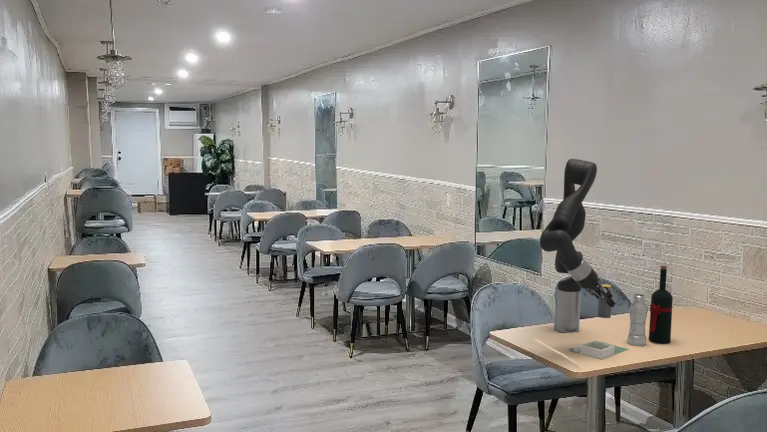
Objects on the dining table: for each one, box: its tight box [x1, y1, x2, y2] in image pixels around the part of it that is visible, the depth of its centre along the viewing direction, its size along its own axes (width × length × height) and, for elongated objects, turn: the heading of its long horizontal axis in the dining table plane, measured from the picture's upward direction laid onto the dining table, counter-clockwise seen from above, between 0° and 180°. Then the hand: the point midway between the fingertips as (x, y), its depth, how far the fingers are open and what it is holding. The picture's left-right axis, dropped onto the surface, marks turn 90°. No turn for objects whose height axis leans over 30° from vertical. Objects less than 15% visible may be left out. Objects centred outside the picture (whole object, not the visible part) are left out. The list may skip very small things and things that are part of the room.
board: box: [567, 340, 630, 360], centre depth 236 cm, size 14×19×4 cm
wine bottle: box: [648, 265, 674, 345], centre depth 250 cm, size 8×10×30 cm
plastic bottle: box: [627, 293, 649, 347], centre depth 243 cm, size 6×7×20 cm
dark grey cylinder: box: [597, 283, 614, 319], centre depth 233 cm, size 5×4×12 cm
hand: (609, 304), depth 234 cm, fingers closed on dark grey cylinder, 4 cm apart
